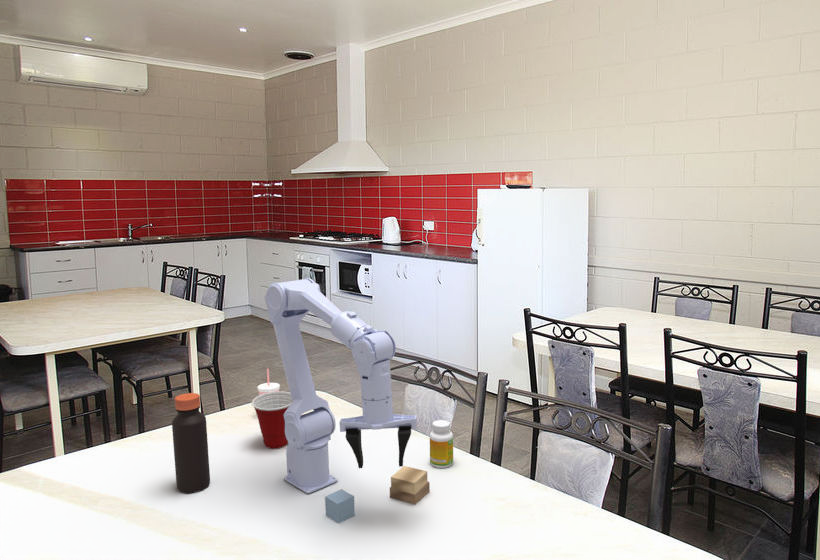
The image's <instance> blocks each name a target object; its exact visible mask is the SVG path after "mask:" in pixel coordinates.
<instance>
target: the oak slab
mask: <svg viewBox="0 0 820 560" xmlns="http://www.w3.org/2000/svg"><path fill="white" fill-rule="evenodd" d="M428 480H429V479H428V471H427V470H423V469H420V468H415V467H411V466H406V465H403V466H401V468H400V469H399V470H397V471H396V472H395V473H394V474H393V475H391V476H390V487H391V489H395V490H399V491H403V492H406V493H410V494H414V495H415V494H416V493H417V492H418V491H419V490H420V489H421V488H422V487H424V486H425V485H426V484H427V483H428V482H429V481H428Z"/></svg>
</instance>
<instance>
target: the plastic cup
mask: <svg viewBox="0 0 820 560" xmlns="http://www.w3.org/2000/svg"><path fill="white" fill-rule="evenodd" d="M291 403H292V399H291V395H290V391H289V392H288V391H283V390H281V391H280V390H279V391H277V392H269V393H265V394H262V395H259V394H258V395H257V396H256V397H254V398H253V399H252V400H251V405H252V407H253V408H254V411H255V414H256V415H257V420H258V421H257V422H258V424H259V429H260V432H261V436H262V440H263V444H264V446H265V448H268V449H280V448H284V447H286V446H288V444H289V442H288V440H287V438H286V436H285V419H284V413H285V411H286V410H287V409H288V407H289V406H290V404H291Z"/></svg>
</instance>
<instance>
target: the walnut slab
mask: <svg viewBox="0 0 820 560" xmlns="http://www.w3.org/2000/svg"><path fill="white" fill-rule="evenodd" d="M430 490H431V489H430V481H428V483H427V484H426V485H425V486H424V487H422V488H421V489H420V490H419V491H418V492H417V493H416V494H415V495H414V494H410V493H406V492H403V491H399V490H395V489H391V486H390V487H389V498H391V499H394V500H398V501H401V502H404V503H408V504H411V505H415V506H416V505H417V504H418V503H419V502H420V501H421V500H422V499H424V497H425V496H427V495H429V493H430V492H431V491H430Z"/></svg>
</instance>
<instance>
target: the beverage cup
mask: <svg viewBox="0 0 820 560" xmlns="http://www.w3.org/2000/svg"><path fill="white" fill-rule="evenodd" d="M266 377H267V382H265V383H261V384H259V385H257V387H256V388H257V391H258V396H259V395H262V394H265V393H269V392H277V391H280V387H281V384H280V383H278V382H270V369H269V368H266Z"/></svg>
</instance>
